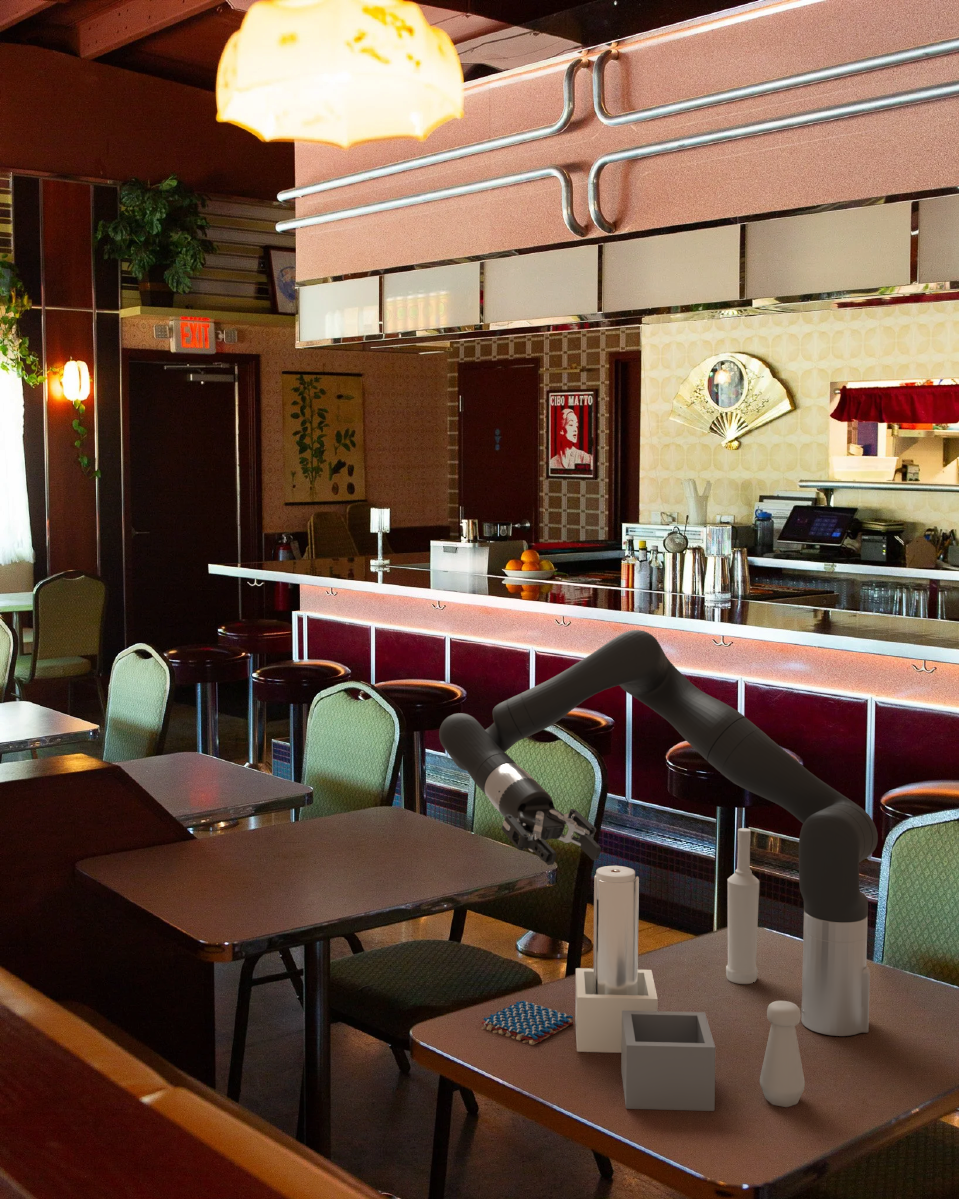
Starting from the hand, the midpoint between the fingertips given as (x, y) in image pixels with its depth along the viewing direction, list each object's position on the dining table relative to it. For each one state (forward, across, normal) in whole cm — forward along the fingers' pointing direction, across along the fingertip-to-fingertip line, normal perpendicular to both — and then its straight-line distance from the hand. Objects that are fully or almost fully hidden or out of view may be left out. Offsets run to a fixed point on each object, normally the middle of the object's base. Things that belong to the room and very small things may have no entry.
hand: (575, 857), depth 193 cm
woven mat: (+6, -4, +27) cm, 28 cm away
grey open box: (+31, -1, +15) cm, 35 cm away
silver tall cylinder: (+15, +5, +22) cm, 27 cm away
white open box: (+15, +5, +21) cm, 27 cm away
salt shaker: (+41, +10, +11) cm, 43 cm away
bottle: (+10, +37, +21) cm, 44 cm away
